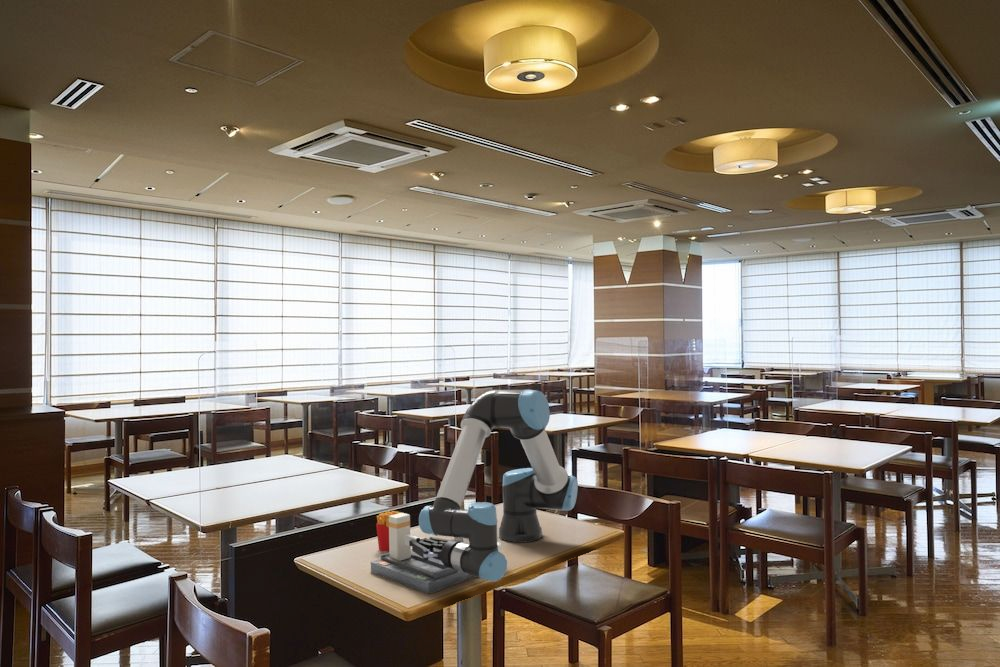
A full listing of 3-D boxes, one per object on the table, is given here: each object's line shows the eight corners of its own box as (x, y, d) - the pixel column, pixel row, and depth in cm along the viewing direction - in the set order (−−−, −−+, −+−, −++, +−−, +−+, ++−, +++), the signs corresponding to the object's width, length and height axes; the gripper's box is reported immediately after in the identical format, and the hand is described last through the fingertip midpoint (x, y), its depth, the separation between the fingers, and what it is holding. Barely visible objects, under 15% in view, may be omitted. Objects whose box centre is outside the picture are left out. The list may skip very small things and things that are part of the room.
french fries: (380, 552, 217) (380, 515, 217) (375, 549, 220) (374, 513, 221) (403, 546, 223) (402, 511, 223) (397, 544, 226) (396, 508, 226)
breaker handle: (402, 554, 204) (401, 512, 204) (411, 557, 201) (410, 514, 202) (389, 558, 201) (388, 515, 201) (397, 561, 198) (396, 518, 198)
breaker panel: (427, 553, 215) (426, 504, 215) (485, 572, 196) (484, 518, 196) (370, 571, 199) (369, 518, 199) (428, 594, 180) (427, 535, 180)
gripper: (441, 575, 177) (389, 557, 194) (476, 563, 187) (424, 546, 203) (441, 547, 177) (388, 531, 194) (476, 536, 187) (423, 522, 203)
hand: (406, 539), depth 199 cm, fingers closed
